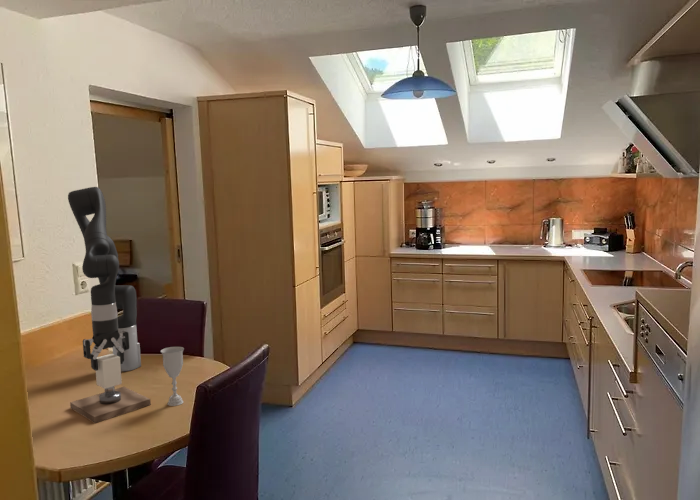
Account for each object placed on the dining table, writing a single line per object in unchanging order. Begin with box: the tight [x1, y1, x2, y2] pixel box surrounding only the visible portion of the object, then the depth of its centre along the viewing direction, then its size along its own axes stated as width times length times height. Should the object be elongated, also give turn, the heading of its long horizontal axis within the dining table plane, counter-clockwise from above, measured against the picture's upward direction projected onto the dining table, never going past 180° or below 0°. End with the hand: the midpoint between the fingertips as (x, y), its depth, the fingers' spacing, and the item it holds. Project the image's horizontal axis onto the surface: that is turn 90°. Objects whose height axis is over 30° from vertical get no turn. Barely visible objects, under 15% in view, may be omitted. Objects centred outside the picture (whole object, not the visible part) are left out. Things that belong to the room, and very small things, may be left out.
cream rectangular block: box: [95, 353, 123, 390], centre depth 174 cm, size 6×6×9 cm
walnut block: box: [69, 386, 151, 424], centre depth 176 cm, size 18×18×2 cm
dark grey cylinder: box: [99, 386, 121, 404], centre depth 175 cm, size 6×6×10 cm
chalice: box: [160, 346, 185, 407], centre depth 177 cm, size 7×7×18 cm
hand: (108, 366), depth 174 cm, fingers open, 7 cm apart
